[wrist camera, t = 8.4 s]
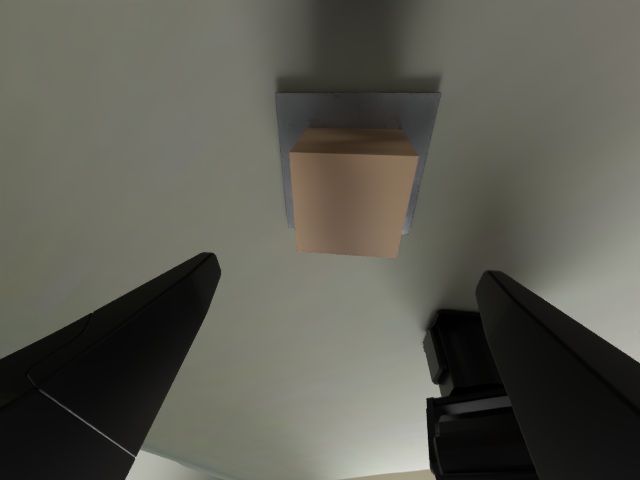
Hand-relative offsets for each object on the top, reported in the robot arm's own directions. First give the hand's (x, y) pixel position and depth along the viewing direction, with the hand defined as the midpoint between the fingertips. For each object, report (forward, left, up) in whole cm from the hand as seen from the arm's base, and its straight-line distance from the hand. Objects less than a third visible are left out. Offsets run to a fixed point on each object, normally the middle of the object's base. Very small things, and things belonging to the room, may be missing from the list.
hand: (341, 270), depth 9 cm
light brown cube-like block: (0, 0, -10) cm, 10 cm away
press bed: (0, 0, -10) cm, 10 cm away
